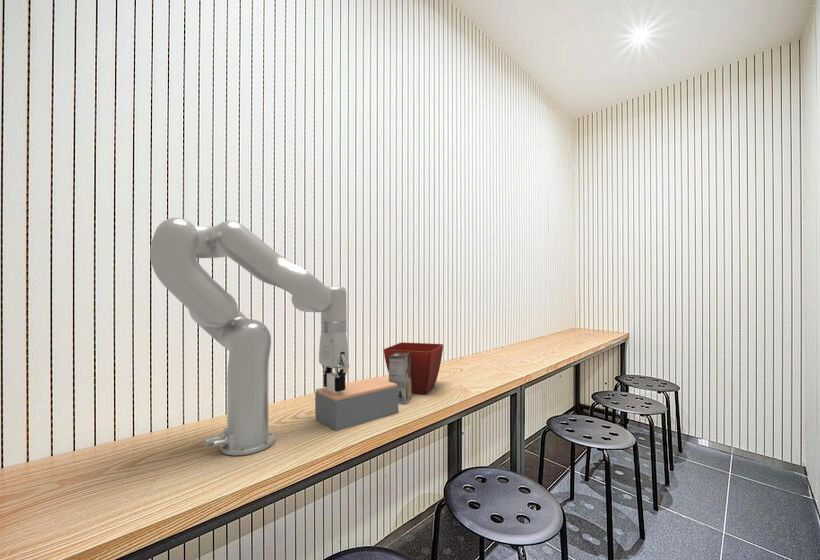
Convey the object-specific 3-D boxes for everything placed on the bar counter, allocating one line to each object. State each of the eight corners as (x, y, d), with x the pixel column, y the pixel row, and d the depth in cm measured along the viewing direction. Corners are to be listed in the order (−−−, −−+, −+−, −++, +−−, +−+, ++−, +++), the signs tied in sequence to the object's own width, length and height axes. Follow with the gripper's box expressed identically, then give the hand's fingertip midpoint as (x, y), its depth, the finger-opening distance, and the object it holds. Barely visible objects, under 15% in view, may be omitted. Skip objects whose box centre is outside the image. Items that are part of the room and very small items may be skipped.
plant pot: (431, 398, 127) (430, 351, 127) (383, 393, 133) (382, 349, 134) (444, 385, 144) (444, 343, 145) (401, 381, 151) (400, 342, 152)
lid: (335, 401, 98) (335, 380, 98) (315, 392, 107) (315, 372, 108) (397, 386, 112) (397, 368, 112) (375, 379, 122) (375, 362, 122)
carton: (336, 431, 97) (336, 401, 98) (315, 418, 107) (315, 392, 108) (398, 412, 112) (398, 387, 112) (374, 403, 121) (374, 379, 122)
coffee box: (395, 395, 130) (394, 352, 131) (412, 396, 129) (411, 352, 130) (388, 403, 121) (388, 356, 122) (406, 404, 120) (406, 356, 121)
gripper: (309, 326, 109) (309, 385, 109) (336, 330, 96) (337, 397, 96) (331, 325, 114) (331, 381, 114) (360, 328, 101) (360, 392, 100)
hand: (334, 387), depth 105 cm, fingers closed on lid, 6 cm apart
